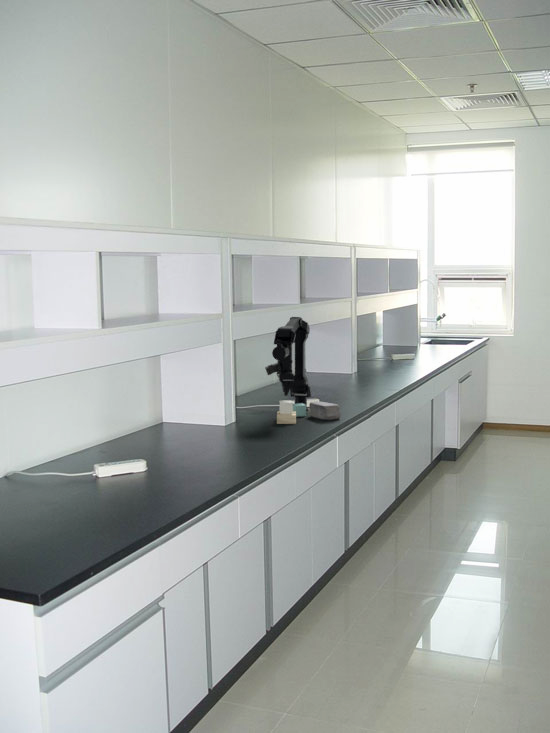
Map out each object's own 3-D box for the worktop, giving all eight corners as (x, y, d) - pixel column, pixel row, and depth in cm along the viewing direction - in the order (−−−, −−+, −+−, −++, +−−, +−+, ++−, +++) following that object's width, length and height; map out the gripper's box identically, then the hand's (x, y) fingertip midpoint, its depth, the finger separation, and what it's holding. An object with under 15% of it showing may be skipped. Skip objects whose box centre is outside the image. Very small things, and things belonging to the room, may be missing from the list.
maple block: (277, 420, 350) (277, 411, 349) (296, 420, 349) (296, 411, 349) (276, 424, 342) (276, 415, 341) (295, 424, 341) (295, 415, 341)
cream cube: (279, 412, 347) (279, 400, 347) (291, 411, 348) (291, 400, 347) (280, 414, 342) (281, 402, 342) (292, 414, 343) (292, 402, 342)
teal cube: (291, 414, 361) (291, 403, 360) (302, 414, 362) (302, 403, 362) (295, 416, 356) (295, 405, 355) (306, 416, 358) (306, 405, 357)
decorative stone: (333, 422, 345) (344, 417, 354) (333, 406, 344) (344, 402, 353) (303, 419, 353) (314, 414, 361) (303, 403, 352) (314, 399, 360)
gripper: (265, 354, 351) (265, 390, 353) (267, 360, 332) (267, 397, 334) (290, 354, 352) (290, 390, 354) (294, 360, 333) (294, 397, 335)
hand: (285, 393), depth 344 cm, fingers open, 9 cm apart
